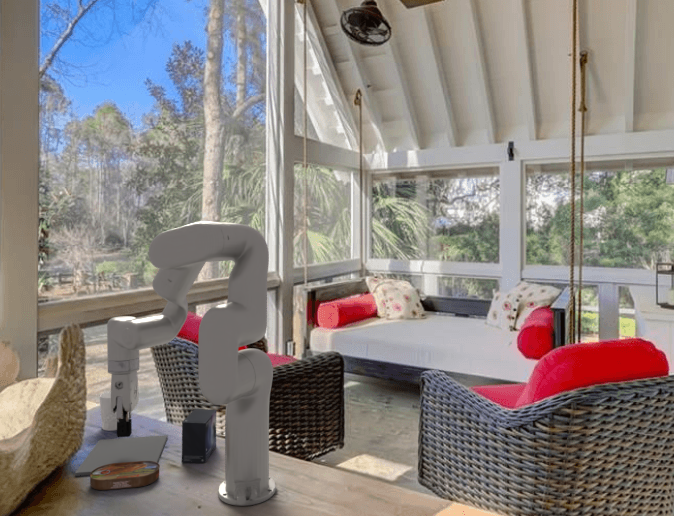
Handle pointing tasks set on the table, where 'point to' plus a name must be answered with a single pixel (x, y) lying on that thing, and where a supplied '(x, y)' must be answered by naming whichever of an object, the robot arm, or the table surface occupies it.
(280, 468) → the table surface
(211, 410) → the small box
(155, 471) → the tin
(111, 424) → the white cup
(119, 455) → the mat
